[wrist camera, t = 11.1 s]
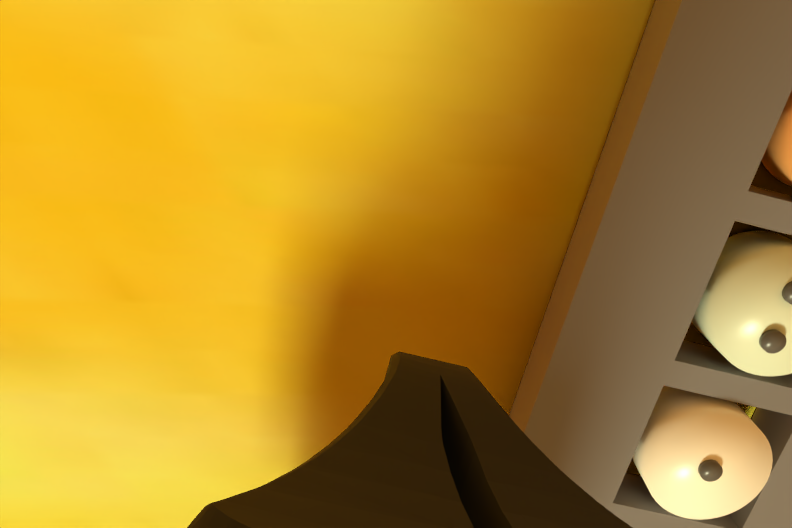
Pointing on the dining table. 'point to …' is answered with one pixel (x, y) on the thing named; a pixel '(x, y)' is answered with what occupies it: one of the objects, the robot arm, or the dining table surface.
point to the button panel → (665, 258)
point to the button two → (751, 303)
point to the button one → (702, 455)
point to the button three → (781, 147)
